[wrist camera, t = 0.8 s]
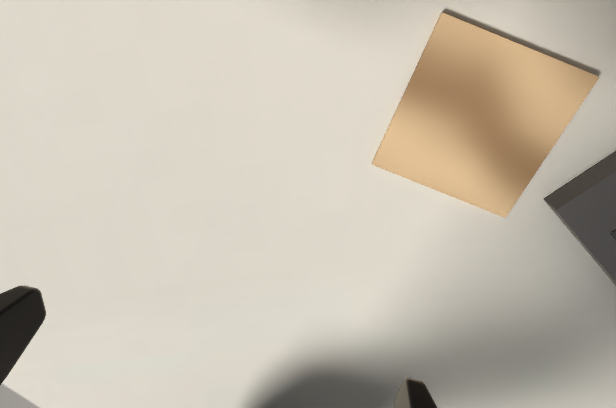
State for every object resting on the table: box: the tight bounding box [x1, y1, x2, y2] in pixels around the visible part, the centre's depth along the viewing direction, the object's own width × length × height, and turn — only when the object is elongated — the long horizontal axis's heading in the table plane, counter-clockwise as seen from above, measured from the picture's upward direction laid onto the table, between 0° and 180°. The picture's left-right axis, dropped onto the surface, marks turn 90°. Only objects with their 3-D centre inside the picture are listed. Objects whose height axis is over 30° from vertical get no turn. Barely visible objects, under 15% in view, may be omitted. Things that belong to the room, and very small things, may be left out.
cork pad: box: [372, 12, 599, 218], centre depth 20 cm, size 8×8×1 cm
